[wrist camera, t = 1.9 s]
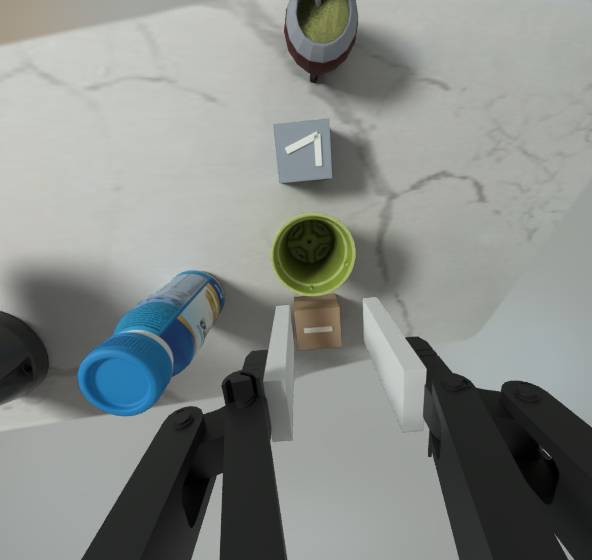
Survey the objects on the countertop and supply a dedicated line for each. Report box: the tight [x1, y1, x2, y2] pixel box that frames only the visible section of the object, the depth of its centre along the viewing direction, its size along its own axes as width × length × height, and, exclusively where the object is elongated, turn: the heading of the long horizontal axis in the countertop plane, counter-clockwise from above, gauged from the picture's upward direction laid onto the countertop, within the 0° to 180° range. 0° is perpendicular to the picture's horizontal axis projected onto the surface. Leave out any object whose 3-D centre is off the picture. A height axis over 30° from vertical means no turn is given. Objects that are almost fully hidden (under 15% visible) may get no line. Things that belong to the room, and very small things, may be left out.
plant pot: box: [271, 213, 356, 296], centre depth 36 cm, size 9×9×9 cm
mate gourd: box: [284, 0, 358, 83], centre depth 26 cm, size 8×8×15 cm
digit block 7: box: [273, 119, 332, 183], centre depth 34 cm, size 6×6×5 cm
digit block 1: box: [294, 294, 341, 350], centre depth 41 cm, size 6×6×5 cm
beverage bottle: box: [78, 270, 224, 416], centre depth 33 cm, size 8×8×20 cm
